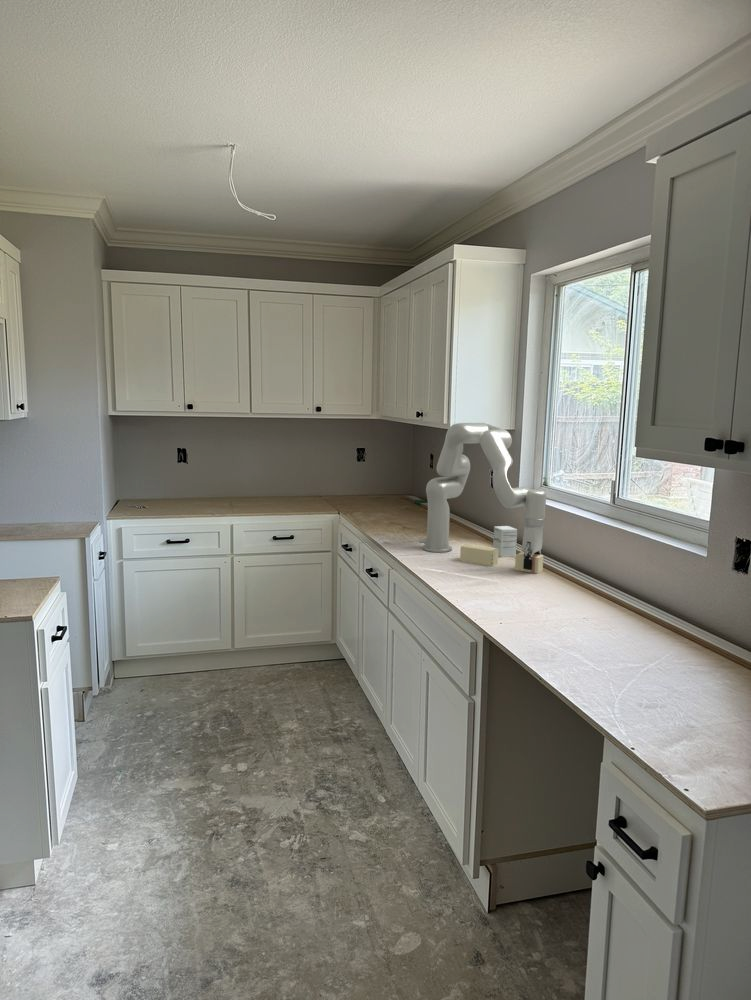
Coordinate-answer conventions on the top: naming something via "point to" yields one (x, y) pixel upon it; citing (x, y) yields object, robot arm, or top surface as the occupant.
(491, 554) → the block
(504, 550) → the supplement box
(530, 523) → the robot arm
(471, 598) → the top surface
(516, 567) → the stub
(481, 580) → the top surface
